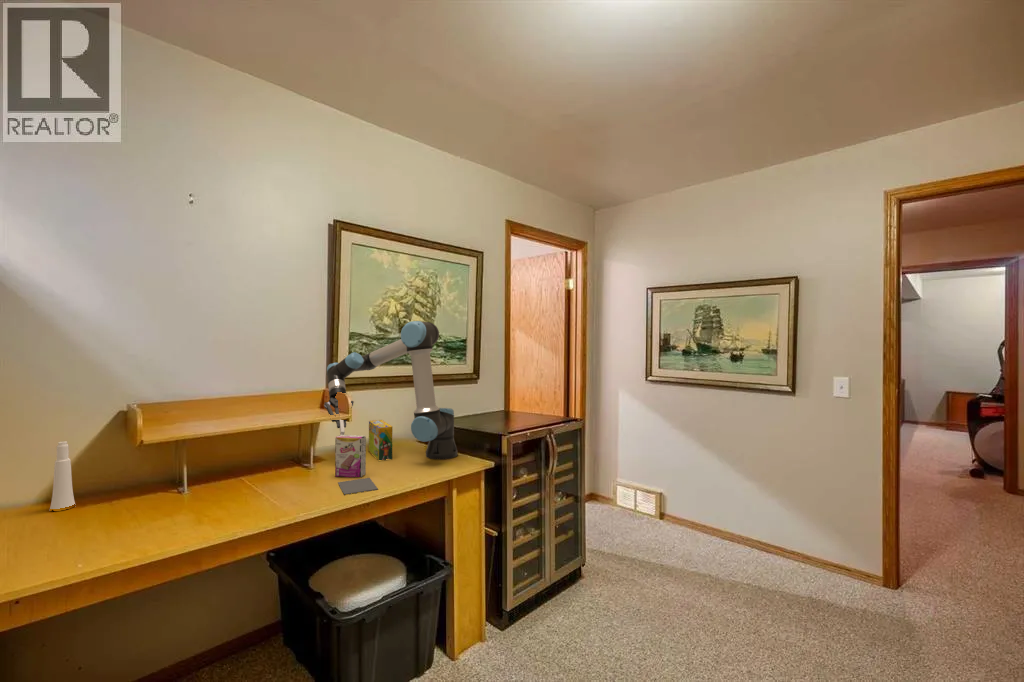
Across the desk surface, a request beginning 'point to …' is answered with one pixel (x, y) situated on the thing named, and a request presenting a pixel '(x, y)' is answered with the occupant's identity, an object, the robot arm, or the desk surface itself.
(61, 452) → the cosmetic bottle
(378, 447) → the fingerpaint box
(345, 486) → the mat
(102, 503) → the desk surface
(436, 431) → the robot arm
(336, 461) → the candy bar box
